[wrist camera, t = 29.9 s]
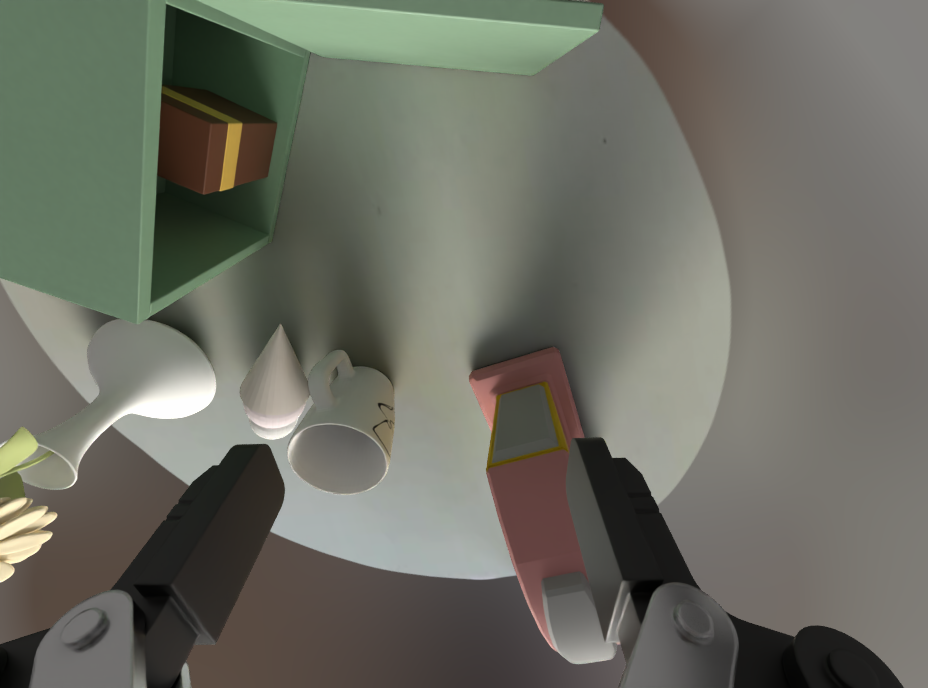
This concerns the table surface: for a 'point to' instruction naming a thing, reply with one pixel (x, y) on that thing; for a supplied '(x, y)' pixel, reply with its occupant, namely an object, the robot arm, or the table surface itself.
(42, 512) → the flower in vase
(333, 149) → the table surface
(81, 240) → the cupboard
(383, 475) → the mug
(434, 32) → the cupboard door
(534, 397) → the yellow alarm clock
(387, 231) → the table surface
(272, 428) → the ice cream cone
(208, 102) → the chocolate box
